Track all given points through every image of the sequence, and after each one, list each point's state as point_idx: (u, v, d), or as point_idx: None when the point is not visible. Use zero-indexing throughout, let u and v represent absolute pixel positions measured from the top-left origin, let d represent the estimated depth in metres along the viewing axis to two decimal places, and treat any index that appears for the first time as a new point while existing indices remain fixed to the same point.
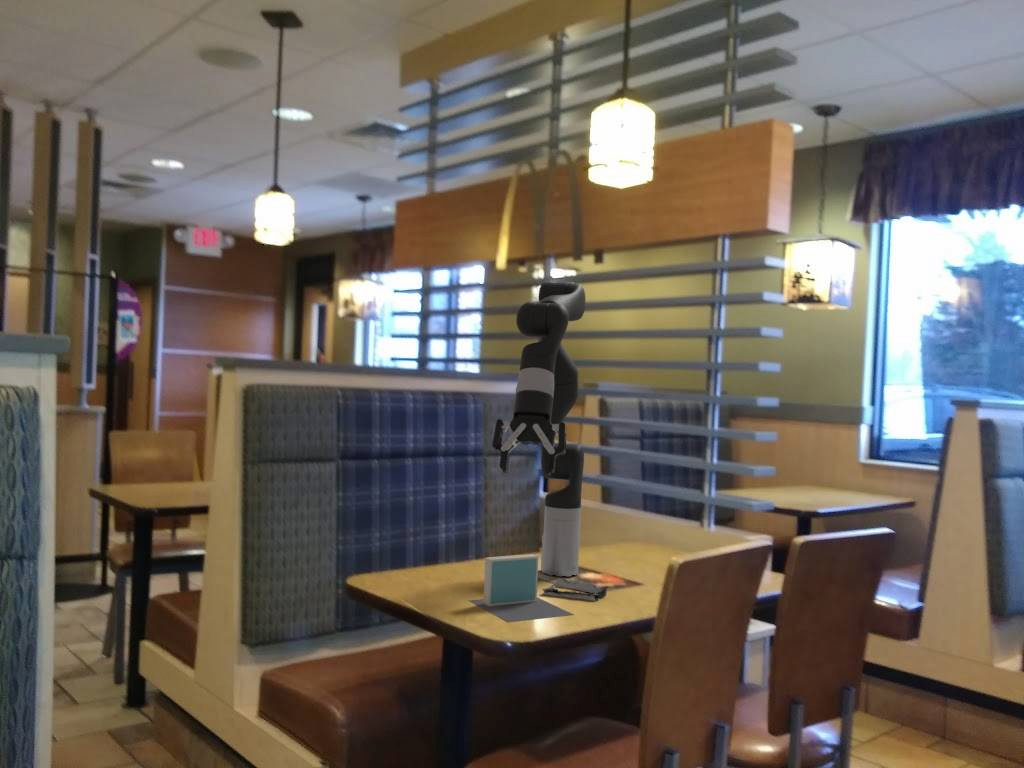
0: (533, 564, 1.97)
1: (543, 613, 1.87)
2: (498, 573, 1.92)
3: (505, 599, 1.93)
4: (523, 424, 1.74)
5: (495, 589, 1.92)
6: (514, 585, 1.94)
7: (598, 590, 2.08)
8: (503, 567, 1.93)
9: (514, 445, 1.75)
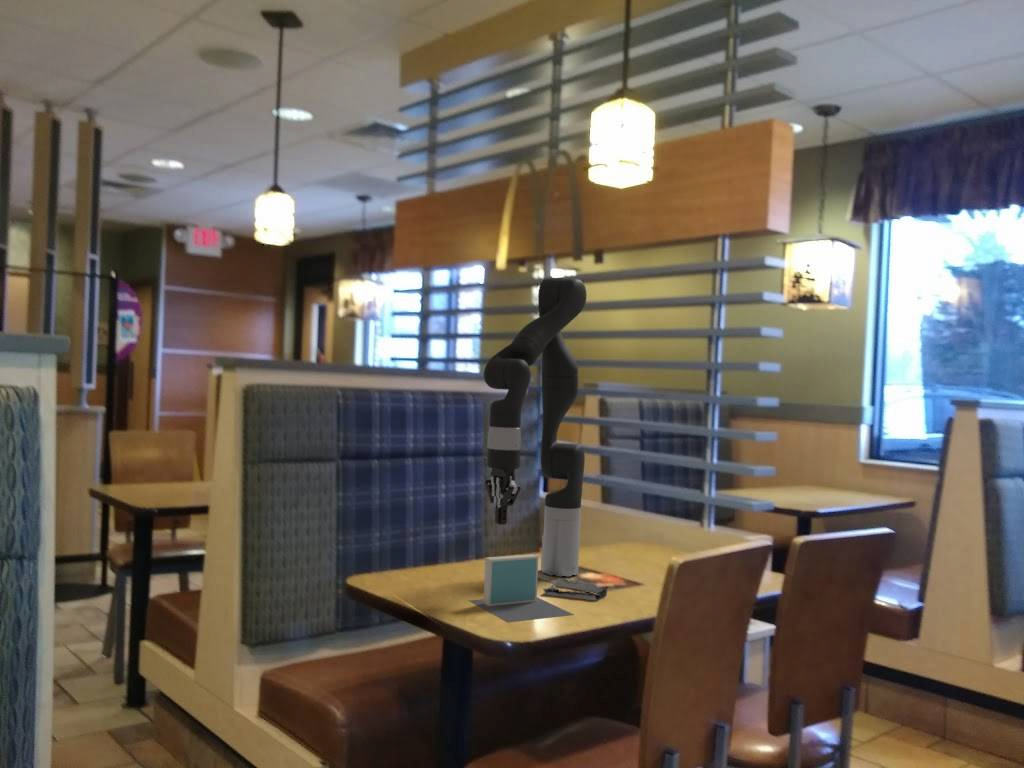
0: (533, 564, 1.97)
1: (543, 613, 1.87)
2: (498, 573, 1.92)
3: (505, 599, 1.93)
4: (492, 477, 2.01)
5: (495, 589, 1.92)
6: (514, 585, 1.94)
7: (598, 590, 2.08)
8: (503, 567, 1.93)
9: None
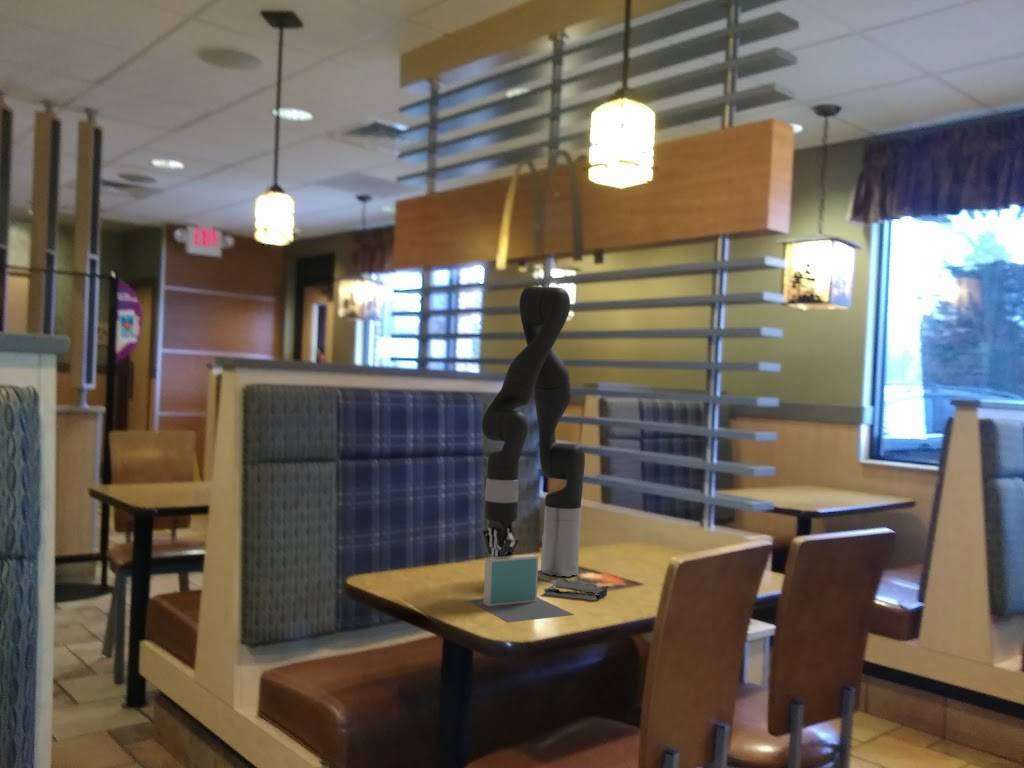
0: (533, 564, 1.97)
1: (543, 613, 1.87)
2: (498, 573, 1.92)
3: (505, 599, 1.93)
4: (489, 528, 2.01)
5: (495, 589, 1.92)
6: (514, 585, 1.94)
7: (599, 590, 2.08)
8: (503, 567, 1.93)
9: None
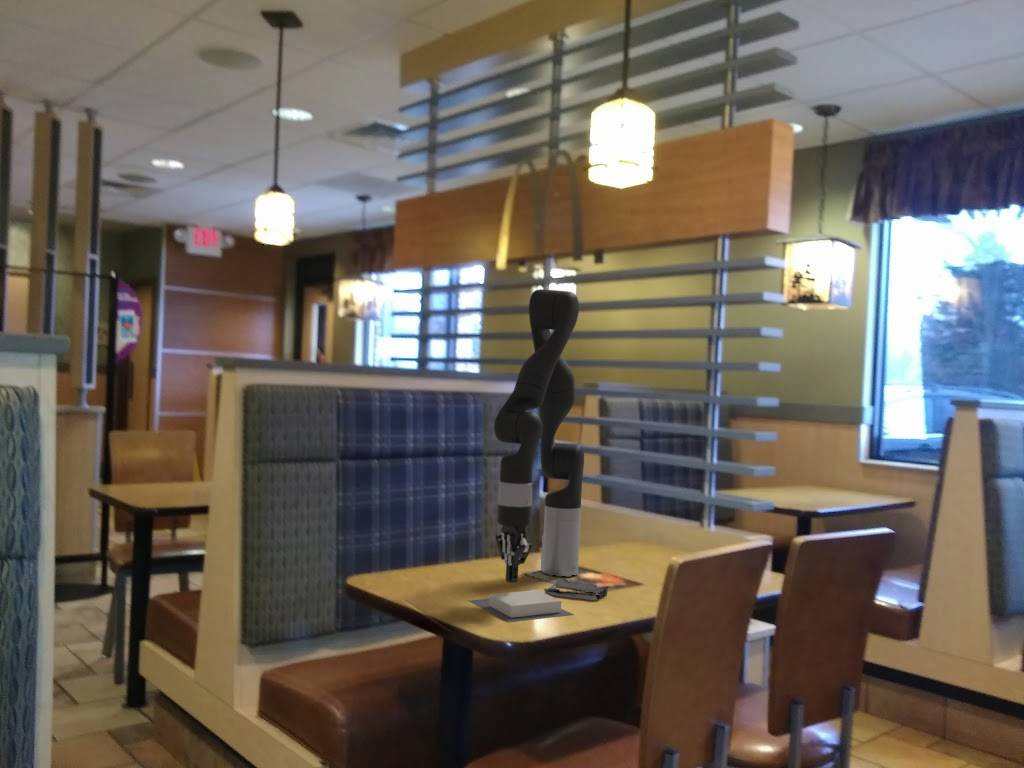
0: None
1: None
2: None
3: None
4: (502, 533, 1.95)
5: None
6: None
7: (599, 590, 2.08)
8: None
9: None
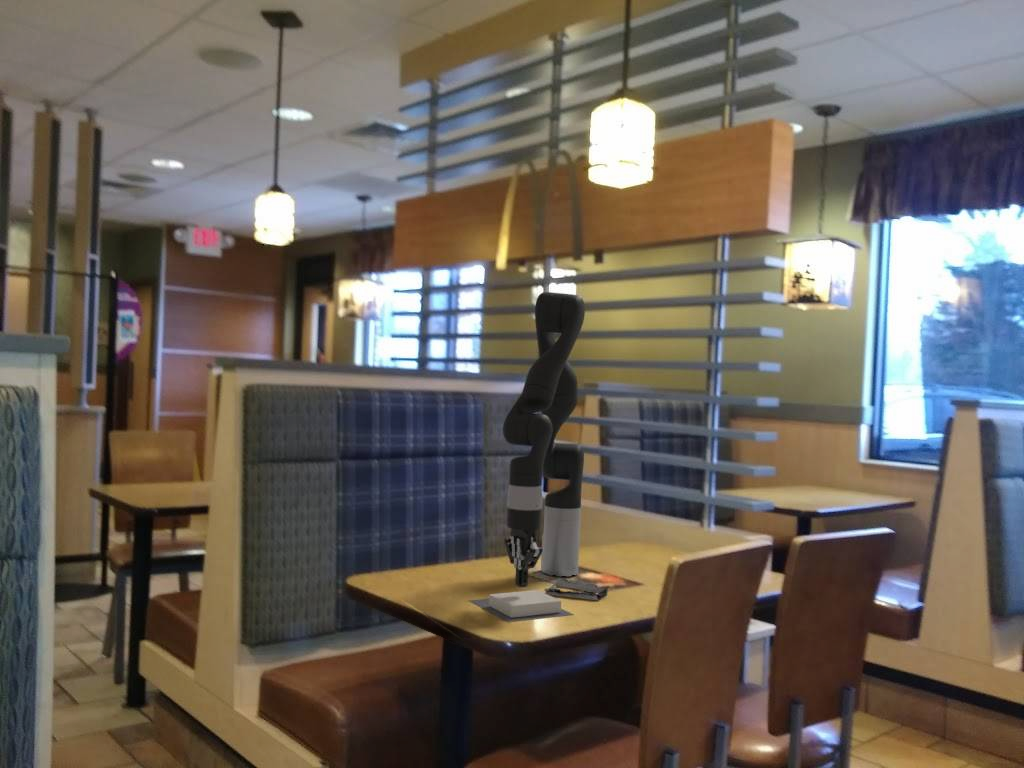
0: None
1: None
2: None
3: None
4: (512, 537, 1.92)
5: None
6: None
7: (599, 590, 2.08)
8: None
9: None
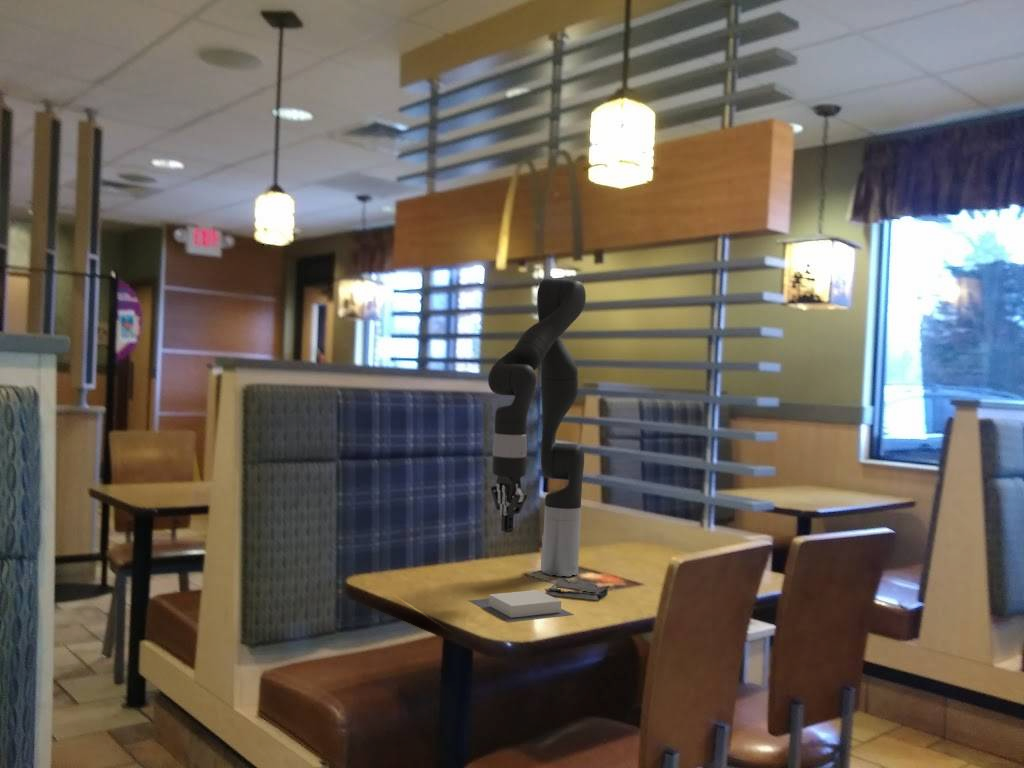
0: None
1: None
2: None
3: None
4: (497, 484, 1.98)
5: None
6: None
7: (599, 589, 2.08)
8: None
9: None
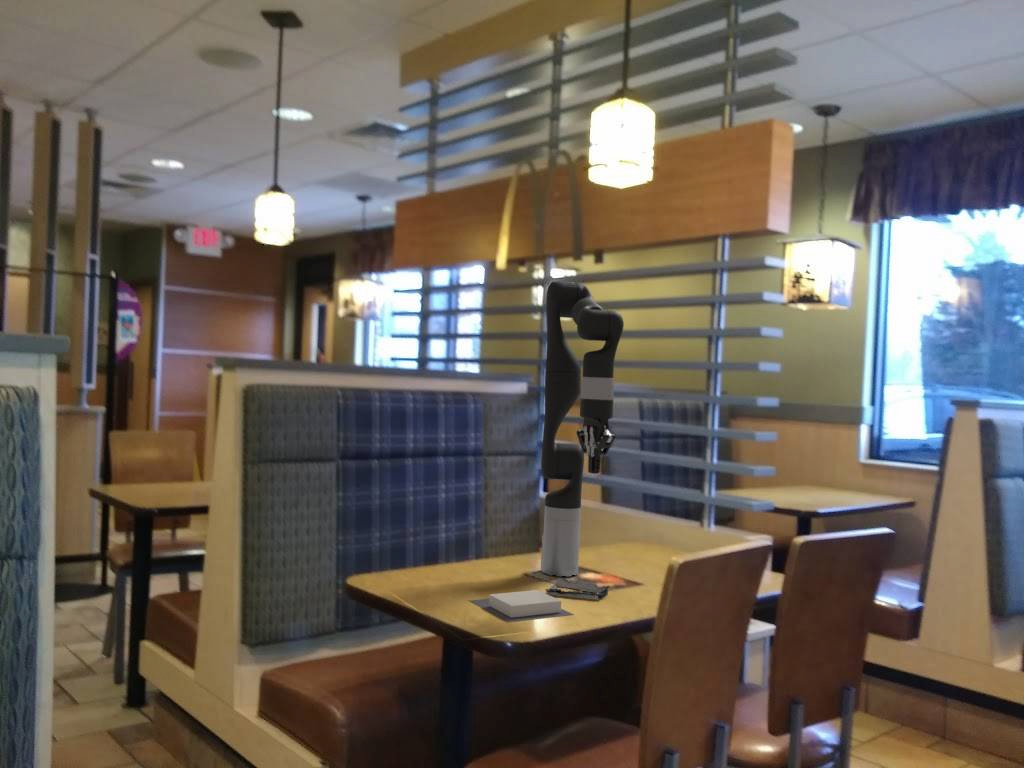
0: None
1: None
2: None
3: None
4: (585, 427, 2.04)
5: None
6: None
7: (599, 589, 2.08)
8: None
9: None
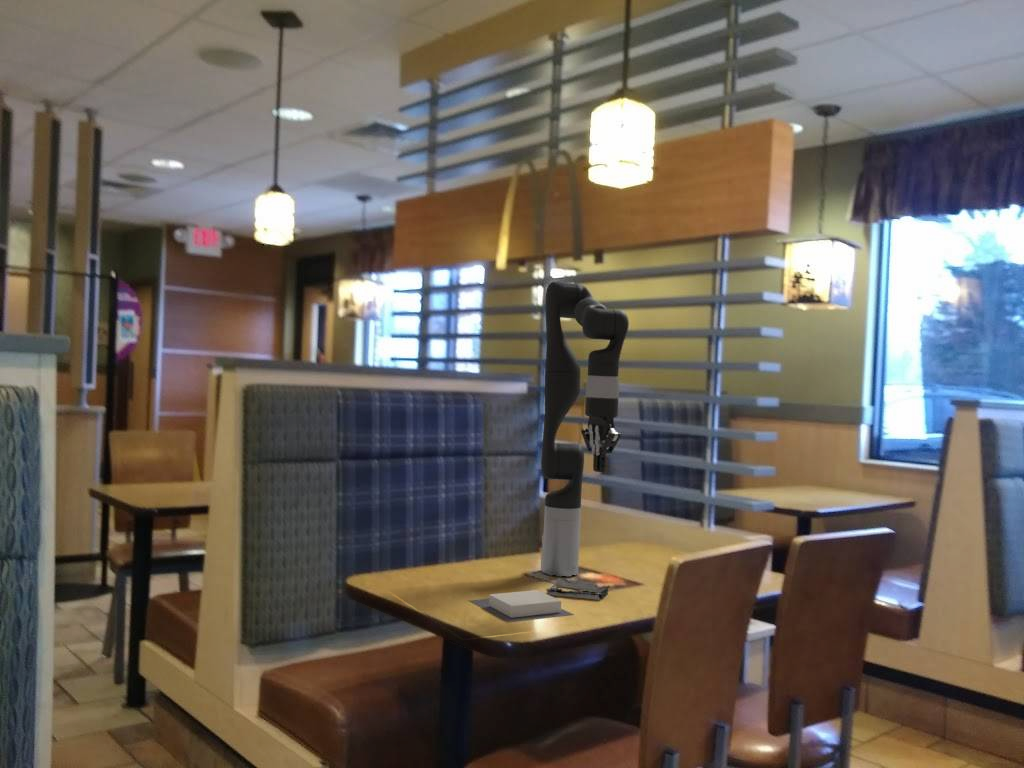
0: None
1: None
2: None
3: None
4: (590, 425, 2.04)
5: None
6: None
7: (599, 589, 2.08)
8: None
9: None
